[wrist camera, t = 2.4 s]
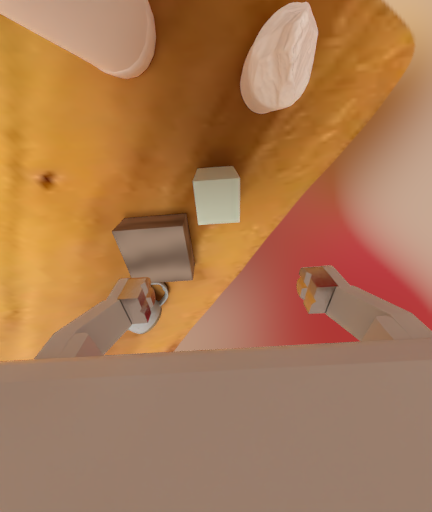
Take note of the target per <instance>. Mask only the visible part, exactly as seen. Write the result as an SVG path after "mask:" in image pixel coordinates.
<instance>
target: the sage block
mask: <svg viewBox="0 0 432 512" xmlns="http://www.w3.org/2000/svg"><path fill="white" fill-rule="evenodd" d="M193 188H194V195H195V203H196V211H197V219H198V225H206V224H221V223H235V222H240V177H239V175H238V173H237V172H236V170H235V169H234V167H233V166H223V167H210V168H197V171H196V174H195V176H194V179H193Z"/></svg>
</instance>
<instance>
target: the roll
mask: <svg viewBox="0 0 432 512" xmlns="http://www.w3.org/2000/svg"><path fill="white" fill-rule="evenodd" d="M317 37H318V28H317V25H316V21H315V18H314V16H313V13H312V10H311V7H310V5H309V3H308V2H303V3H300V2H293V3H289V4H287V5H286V6H284V7H281V8H280V9H279V10H278V11H276V12H275V13H274V14H273V15H272V16H271V18H270V19H269V20H268V21H267V22H266V23H265V24H264V26H263V27H262V29H261V30H260V32H259V34H258V35H257V37H256V39H255V41H254V43H253V45H252V47H251V48H250V50H249V52H248V55H247V57H246V60H245V62H244V66H243V70H242V75H241V80H240V90H241V95H242V98H243V100H244V102H245V104H246V105H247V107H248V108H249V109H250V110H251V111H253V112H255V113H258V114H265V113H269V112H271V111H275V110H280V109H284V108H287V107H289V106H291V105H293V104H294V103H295V102H296V101H297V100H298V99H299V98H300V96H301V95H302V93H303V92H304V90H305V88H306V86H307V84H308V82H309V79H310V75H311V71H312V65H313V61H314V55H315V50H316V42H317Z"/></svg>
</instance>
